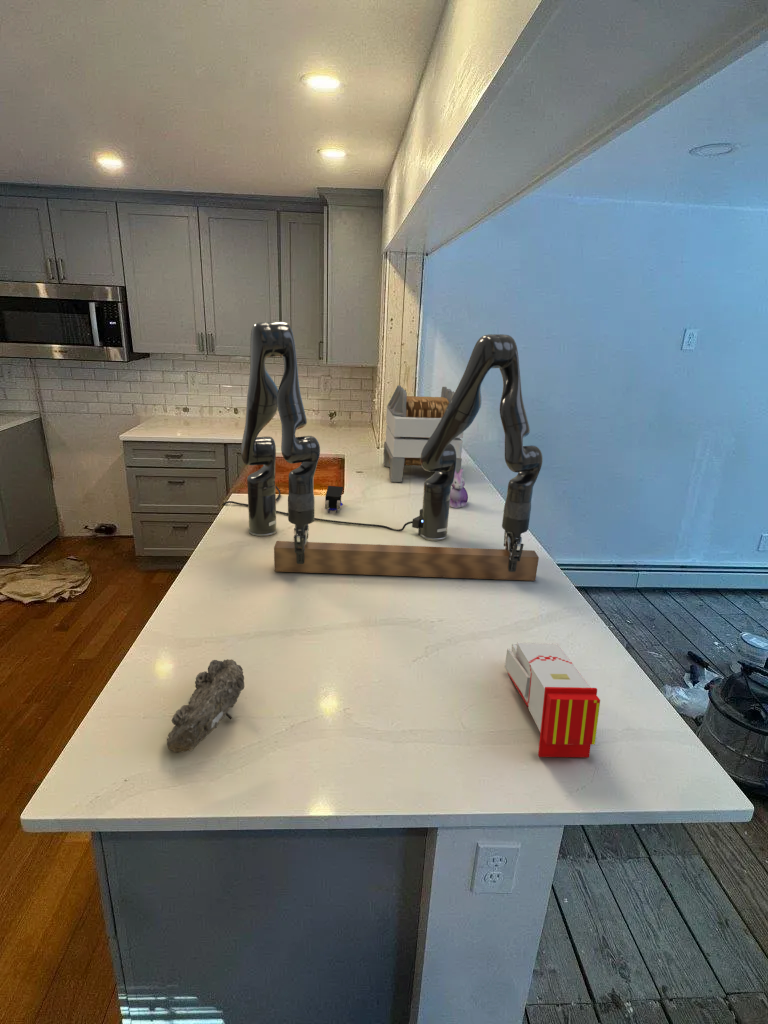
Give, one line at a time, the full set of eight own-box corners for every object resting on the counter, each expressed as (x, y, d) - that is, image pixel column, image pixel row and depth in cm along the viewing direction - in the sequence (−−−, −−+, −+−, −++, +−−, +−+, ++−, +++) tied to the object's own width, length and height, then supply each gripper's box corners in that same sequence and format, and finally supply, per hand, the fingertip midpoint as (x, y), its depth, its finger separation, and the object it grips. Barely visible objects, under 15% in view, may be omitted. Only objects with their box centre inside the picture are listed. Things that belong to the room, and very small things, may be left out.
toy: (553, 625, 127) (610, 695, 97) (548, 680, 129) (601, 765, 100) (500, 624, 126) (540, 694, 97) (495, 679, 129) (533, 764, 100)
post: (531, 573, 173) (534, 550, 171) (535, 580, 169) (538, 557, 166) (277, 564, 171) (276, 540, 169) (274, 571, 167) (273, 547, 164)
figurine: (454, 509, 226) (458, 473, 221) (440, 502, 235) (443, 467, 229) (474, 507, 230) (477, 471, 225) (459, 499, 239) (463, 465, 234)
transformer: (382, 463, 289) (386, 382, 275) (445, 464, 293) (451, 384, 279) (390, 482, 257) (394, 392, 243) (460, 483, 261) (468, 394, 247)
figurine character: (341, 518, 215) (343, 501, 228) (341, 500, 212) (343, 484, 225) (323, 518, 215) (326, 501, 228) (323, 500, 211) (326, 484, 225)
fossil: (192, 660, 117) (244, 628, 112) (224, 691, 120) (276, 661, 115) (142, 746, 98) (202, 712, 93) (182, 779, 101) (242, 748, 96)
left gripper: (291, 496, 169) (292, 549, 175) (284, 513, 155) (285, 569, 161) (317, 497, 169) (316, 550, 175) (311, 514, 156) (311, 570, 162)
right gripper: (498, 505, 170) (492, 556, 176) (509, 522, 157) (502, 577, 163) (523, 506, 171) (516, 557, 176) (536, 523, 157) (528, 578, 163)
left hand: (301, 559), depth 168 cm, fingers closed on post, 5 cm apart
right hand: (509, 566), depth 170 cm, fingers closed on post, 5 cm apart
